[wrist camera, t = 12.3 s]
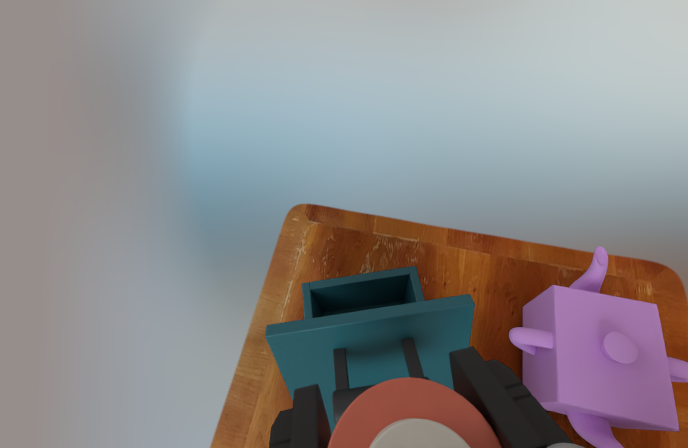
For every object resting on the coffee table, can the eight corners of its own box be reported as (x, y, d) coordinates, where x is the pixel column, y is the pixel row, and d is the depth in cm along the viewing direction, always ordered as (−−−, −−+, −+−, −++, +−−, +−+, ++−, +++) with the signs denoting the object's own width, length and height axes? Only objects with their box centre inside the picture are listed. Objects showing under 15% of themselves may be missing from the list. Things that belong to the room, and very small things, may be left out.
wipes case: (316, 309, 43) (301, 283, 35) (408, 294, 43) (416, 265, 34) (328, 435, 36) (313, 442, 28) (436, 418, 36) (455, 420, 28)
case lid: (266, 324, 19) (255, 416, 15) (469, 293, 19) (512, 376, 15) (312, 437, 28) (313, 515, 24) (454, 415, 28) (479, 490, 24)
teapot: (667, 401, 35) (773, 397, 26) (565, 473, 33) (640, 496, 24) (557, 278, 43) (608, 239, 33) (467, 330, 40) (494, 305, 31)
